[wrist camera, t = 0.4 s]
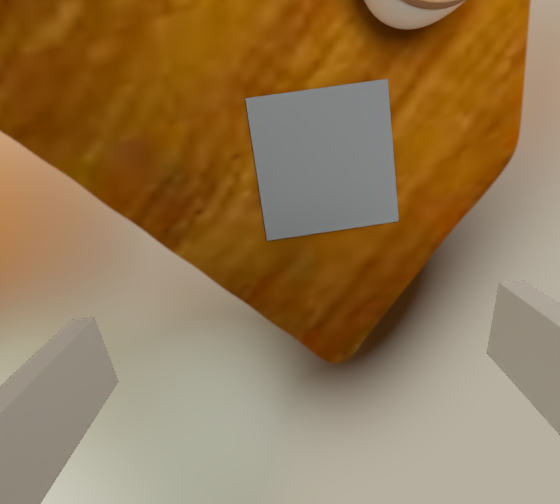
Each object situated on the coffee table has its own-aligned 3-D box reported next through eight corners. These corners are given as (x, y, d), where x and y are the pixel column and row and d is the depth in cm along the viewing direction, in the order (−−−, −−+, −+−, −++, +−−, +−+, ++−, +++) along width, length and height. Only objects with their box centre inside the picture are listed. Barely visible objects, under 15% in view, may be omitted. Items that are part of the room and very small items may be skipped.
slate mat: (245, 100, 31) (245, 98, 31) (385, 81, 32) (387, 78, 31) (266, 240, 34) (267, 240, 33) (396, 220, 34) (398, 221, 33)
